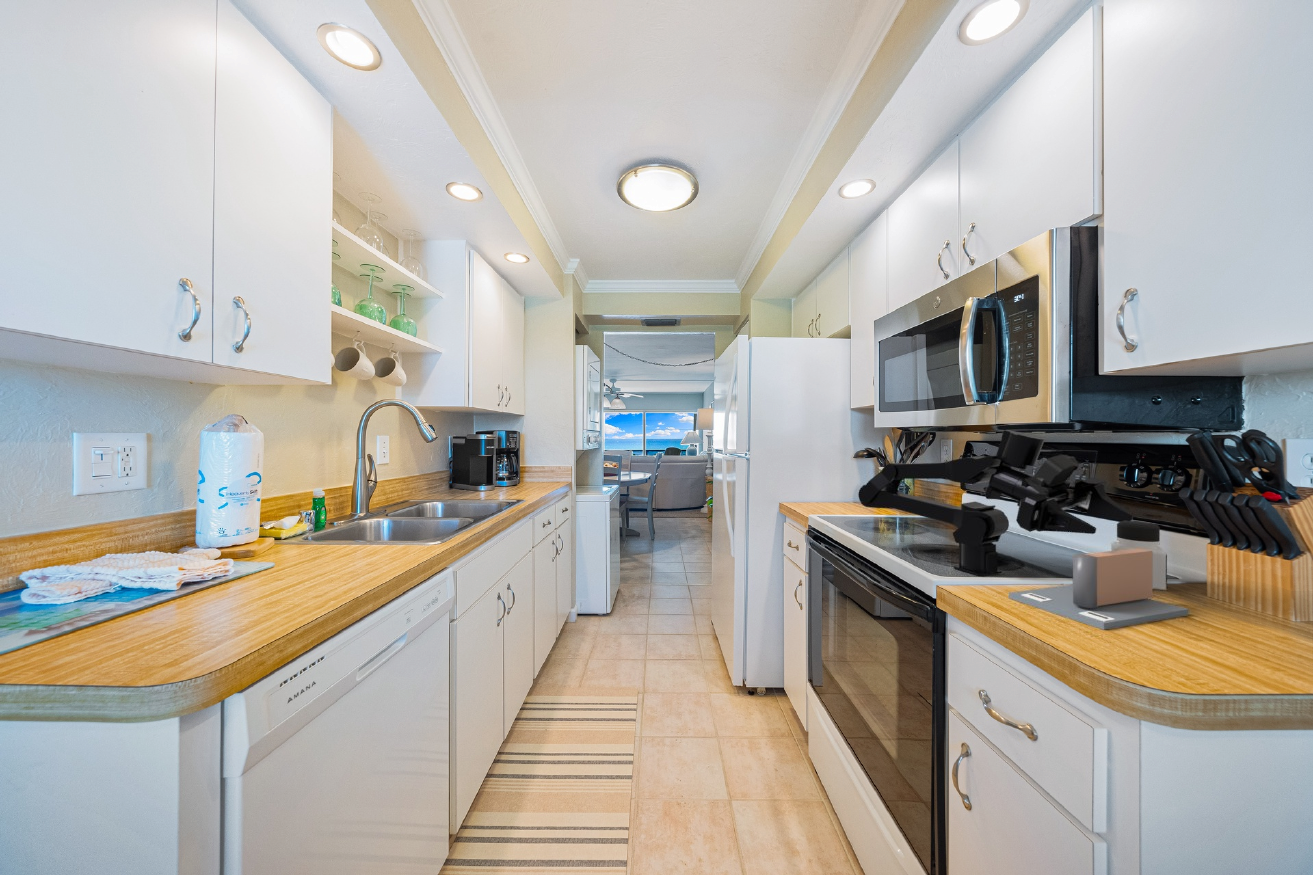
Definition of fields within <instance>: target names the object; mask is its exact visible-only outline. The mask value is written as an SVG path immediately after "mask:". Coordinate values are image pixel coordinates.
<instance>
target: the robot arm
mask: <svg viewBox="0 0 1313 875" xmlns="http://www.w3.org/2000/svg"><path fill="white" fill-rule="evenodd" d="M1045 440H1046V438H1045V437H1042V436H1040V435H1036V434H1033V433H1025V432H1020V431H1013V430H1009V429H1007V430H1006V429H1004V430H1003V432H1002V434H1001V440H1000V443H999V445H998V449H997V452H996V454H990V455H989V454H988V455H987V456H983V455H981V456H979V455H978V456H969V457H961V458H955V459H951V460H948V461H944V462H915V463H914V462H913V463H902V462H894V463H893V462H891V463H888V464H886V465H885V466H883V468H882V469H881V470H880V471H879V472H878V473H877V474H875V475H874V476H873V477H872V478H871V479H869V480H868V482H867V483H866V484H863V485H862V486H860V488H859V490H858V493H857V494H858V499H859V500H858V501H859V502H860V504H861V505H862V506H863V507H865V508H871V509H893V510H898V511H902V512H905V513H910V514H912V515H916V516H919V517H922V518H923V517H924V518H928V519H931V520H935V521H937V522H942V523H946V524H949V525H952V526H954V527H955V528H956V530H955V531H953V532H952V536H953V539H954V542H955V543H957V544H958V565H957V564H956V565H953V566H952V567H953V569H956V570H959V571H963V572H965V573H969V574H972V575H975V576H990V575H995V574H998V575H999V574H1002V573H1003V570H1000V569H998V568H999V567H998V564H999V563H998V562H999V561H998V559H999V556H998V555H999V552H998V551H997V544H995V543H997V542H999V541H1000V538H1001V536H1002V535H1003V534H1005V533H1006V532H1007V531H1008V530H1009V526H1010V522H1009V518H1008V515H1006V514H1005V512H1004V511H1002V510H1000V509H998V508H996V505H987V504H983V503H981V502H978V501H971V502H962V503H961V504H960V506H958V505H953V504H950V503H946V502H942V501H937V500H933V499H929V498H926V497H925V498H924V497H920V496H918V495H917V496H916V495H912V494H908V493H907V494H906V493H904V492H902V491H901V490H899V489H900V487H901V486H902V482H903V481H904V479H905V480H906V479H907V480H908V479H909V480H910V479H912V480H914V479H915V480H922V479H923V480H926V479H927V480H928V479H929V480H930V479H931V480H934V479H935V480H936V479H937V480H938V479H939V480H947V481H951V482H954V483H959V484H965V485H974V484H983V483H988V485H987V486H985V487H983V490H984V491H983V492H984V495H985V496H984V497H985V499H986V500H1000V499H1001V498H1002V497H1001V496H1005V497H1007V498H1009V499H1012V500H1013V501H1016V502H1017V507H1018V510H1017V516H1016V523H1017V524H1018V526H1019V528H1020V529H1022V530H1023V529H1024V530H1025V531H1026V532H1027V531H1028V532H1029V533H1031V532H1034V531H1036V532H1060V533H1072V534H1073V533H1075V534H1076V533H1078V534H1088V535H1089V534H1090V535H1094V534H1096V532H1097V528H1096V527H1095V526H1094V525H1092V524H1090V523H1089V522H1087V521H1085V520H1083V519H1081V518H1079V517H1077V516H1075V515H1073V514H1072V513H1070V512H1068V511H1065V510H1069V509H1073V510H1074V511H1077V512H1078V513H1085V514H1086V516H1090V517H1097V518H1102V519H1111V520H1117V521H1133V519H1134V514H1131V512H1129V511H1128V510H1126V509H1125V508H1123V507H1122V506H1121V505H1120V504H1118V503H1117V502H1115V501H1114V500H1113V499H1112V498H1111V497H1109V496H1108V495H1107V492H1106V490H1107V482H1106V481H1105V480H1103V479H1100V478H1097V477H1095V476H1093V477H1089V478H1086V479H1084V480H1080V481H1078V482H1076V483H1075V485H1074V488H1073V492H1072V493H1071V494H1070V492H1069V491H1068V489H1070V484H1071V482H1070V481H1068V479H1069V478H1070V476H1072V475H1073V473H1074V471H1077V470H1078V468H1079V462H1078V461H1077V460H1076V457H1075V456H1069V455H1067V454H1059V455H1054V456H1052V457H1049V458H1046V460H1044V462H1043V463H1042V464H1041V466H1040V467H1039V468H1038V470H1037V471H1036V473H1035V475H1032V474H1030V473H1027V472H1024V471H1021V470H1027V469H1028V467H1034V466H1035V465H1036V464H1037V461H1038V458H1039V455H1040V453H1041V450H1042V447H1043V445H1044V442H1045ZM1015 468H1017V469H1015ZM1018 469H1020V470H1018Z"/></svg>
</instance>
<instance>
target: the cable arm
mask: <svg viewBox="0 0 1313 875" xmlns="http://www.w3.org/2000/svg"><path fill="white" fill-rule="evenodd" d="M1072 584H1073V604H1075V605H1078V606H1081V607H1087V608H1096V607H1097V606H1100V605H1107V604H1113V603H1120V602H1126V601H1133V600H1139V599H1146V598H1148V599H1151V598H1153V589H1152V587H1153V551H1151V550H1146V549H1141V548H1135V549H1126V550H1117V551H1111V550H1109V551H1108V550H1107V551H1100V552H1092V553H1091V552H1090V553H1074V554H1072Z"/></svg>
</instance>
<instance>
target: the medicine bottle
mask: <svg viewBox="0 0 1313 875" xmlns="http://www.w3.org/2000/svg"><path fill="white" fill-rule="evenodd" d="M1160 529H1161V528H1160V526H1159V525H1157V524H1155V523H1152V522H1147V521H1140V520H1132V521H1123V520H1120V521H1119V522H1118V523H1116V541H1112V542H1111V543H1110V545H1111V546H1110V548H1111V549H1110V551H1117V550H1126V549H1135V548H1141V549H1146V550H1151V551H1153V587H1152V590H1159V591H1167V589H1168V554H1167V552H1166V551H1164V549H1163V548H1162V547H1161V546H1160V543H1161V541H1160V540H1161V539H1160V536H1161V532H1160Z"/></svg>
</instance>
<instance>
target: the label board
mask: <svg viewBox="0 0 1313 875" xmlns="http://www.w3.org/2000/svg"><path fill="white" fill-rule="evenodd" d="M1008 599H1009V600H1011V601H1016V602H1019V603H1021V604H1025V605H1027V606H1031V607H1034V608H1036V609H1039V610H1042V611H1046V612H1049V613H1052V614H1055V615H1058V616H1061V617H1064V618H1067V619H1069V620H1073V621H1076V622H1078V623H1082V624H1085V625H1088V626H1091V627H1093V628H1096V629H1100V630H1103V631H1105V630H1112V629H1117V628H1121V627H1127V626H1133V625H1135V626H1136V625H1139V624H1140V623H1141V624H1145V623H1152V622H1157V621H1164V620H1169V619H1174V618H1175V619H1176V618H1180V617H1186V615H1187V616H1190V613H1189V612H1190V610H1189V608H1186V607H1183V606H1180V605H1179V606H1178V605H1174V604H1171V603H1166V602H1163V601H1160V600H1155V599H1151V598H1146V599H1139V600H1133V601H1126V602H1120V603H1113V604H1107V605H1100V606H1097V607H1096V608H1087V607H1081V606H1078V605H1075V604H1073V583H1071V584H1064V585H1057V586H1049V587H1042V588H1041V587H1040V588H1035V589H1034V588H1033V589H1028V590H1027V589H1025V590H1020V591H1011V592H1010V591H1009V592H1008ZM1163 619H1164V620H1163Z"/></svg>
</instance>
